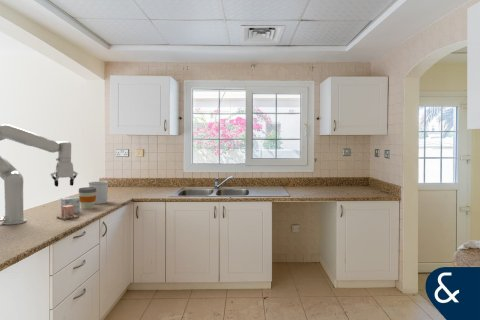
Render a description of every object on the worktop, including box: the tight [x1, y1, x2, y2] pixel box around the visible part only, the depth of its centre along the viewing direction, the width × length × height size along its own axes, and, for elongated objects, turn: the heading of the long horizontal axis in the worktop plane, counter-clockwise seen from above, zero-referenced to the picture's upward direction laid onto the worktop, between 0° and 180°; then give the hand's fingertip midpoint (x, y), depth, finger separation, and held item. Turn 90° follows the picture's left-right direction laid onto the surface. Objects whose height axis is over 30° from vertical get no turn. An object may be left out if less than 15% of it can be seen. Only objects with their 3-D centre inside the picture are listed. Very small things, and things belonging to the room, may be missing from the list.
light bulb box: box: [60, 196, 81, 215], centre depth 236 cm, size 11×7×11 cm, turn 141°
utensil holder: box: [88, 180, 109, 205], centre depth 277 cm, size 15×15×18 cm
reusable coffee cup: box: [78, 186, 96, 210], centre depth 256 cm, size 12×13×15 cm
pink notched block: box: [60, 205, 75, 218], centre depth 221 cm, size 6×6×7 cm
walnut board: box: [56, 214, 80, 221], centre depth 221 cm, size 10×10×1 cm
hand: (64, 185), depth 221 cm, fingers open, 9 cm apart
